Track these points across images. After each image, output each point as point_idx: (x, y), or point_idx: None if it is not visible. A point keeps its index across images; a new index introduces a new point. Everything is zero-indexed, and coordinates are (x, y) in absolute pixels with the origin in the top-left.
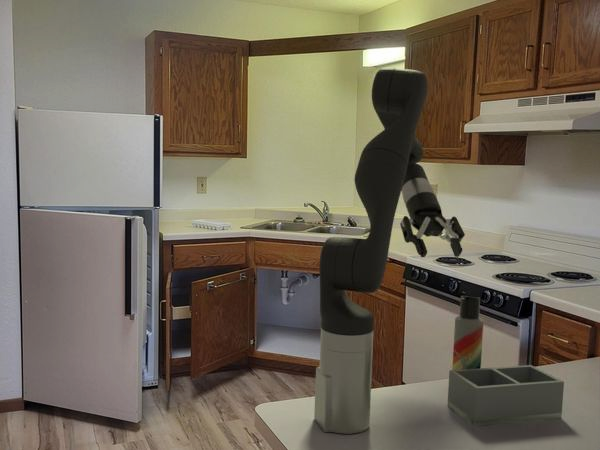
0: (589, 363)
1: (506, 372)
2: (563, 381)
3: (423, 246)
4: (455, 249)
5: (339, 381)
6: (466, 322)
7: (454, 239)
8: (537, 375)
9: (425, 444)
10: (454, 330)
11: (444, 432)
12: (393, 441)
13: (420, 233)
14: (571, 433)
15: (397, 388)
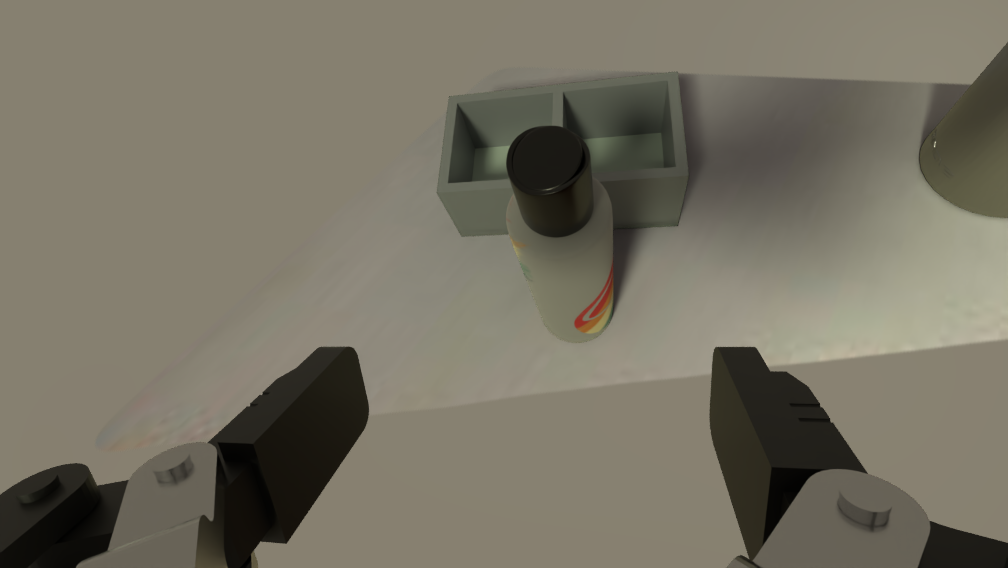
0: (117, 425)
1: None
2: (449, 96)
3: (766, 379)
4: (331, 413)
5: None
6: (593, 177)
7: (252, 440)
8: (454, 166)
9: (808, 78)
10: (608, 252)
11: (746, 115)
12: (875, 90)
13: (830, 564)
14: None
15: (774, 348)
